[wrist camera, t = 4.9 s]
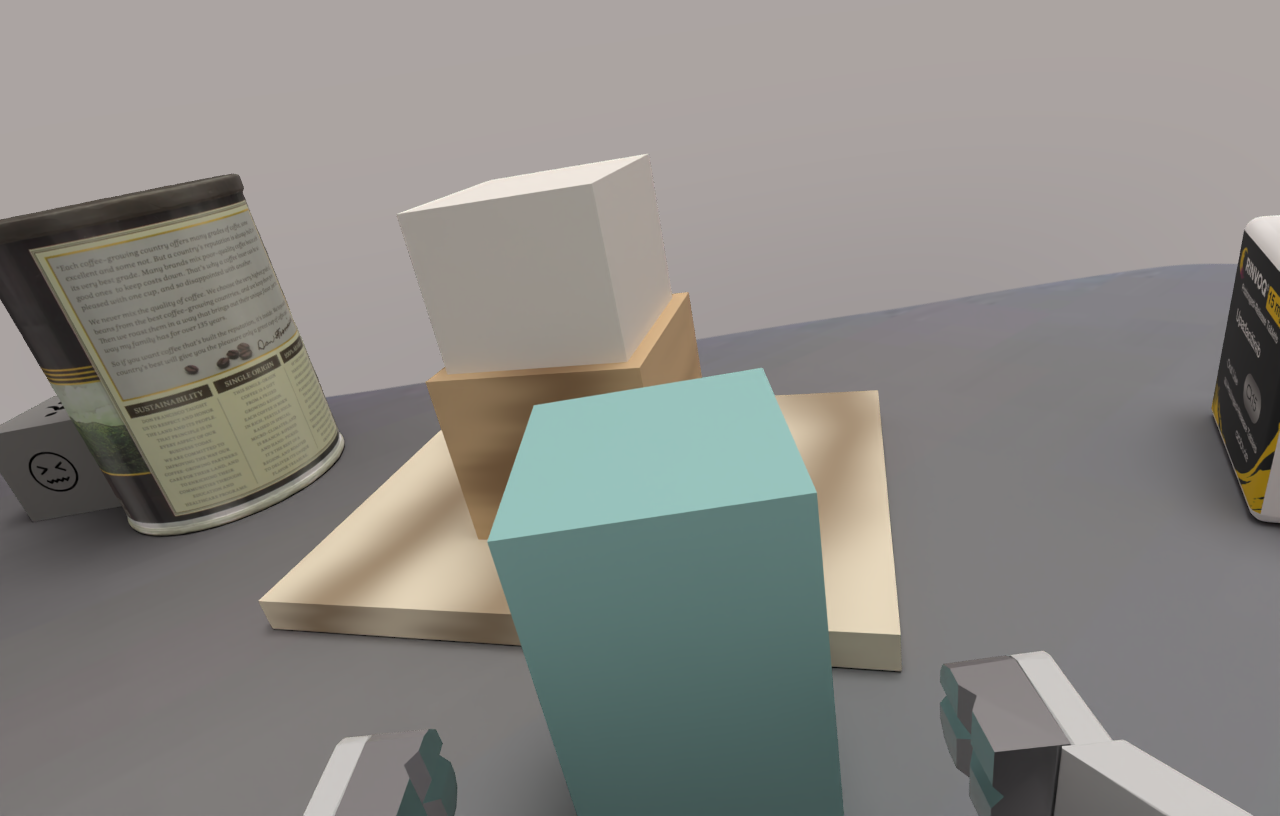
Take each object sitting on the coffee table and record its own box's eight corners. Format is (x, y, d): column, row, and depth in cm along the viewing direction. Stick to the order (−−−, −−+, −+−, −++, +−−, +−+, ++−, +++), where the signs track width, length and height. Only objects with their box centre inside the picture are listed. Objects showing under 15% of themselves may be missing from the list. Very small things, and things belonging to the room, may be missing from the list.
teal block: (613, 925, 13) (486, 542, 9) (620, 727, 17) (533, 405, 14) (850, 901, 13) (816, 492, 9) (800, 704, 17) (762, 368, 13)
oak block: (478, 539, 24) (425, 381, 21) (552, 441, 30) (517, 309, 27) (672, 542, 22) (639, 367, 19) (710, 435, 28) (688, 292, 25)
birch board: (272, 628, 23) (258, 601, 23) (467, 432, 35) (460, 411, 35) (901, 671, 17) (900, 634, 17) (878, 416, 29) (877, 390, 29)
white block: (447, 374, 22) (396, 214, 20) (524, 312, 27) (489, 180, 25) (627, 362, 20) (591, 183, 18) (672, 297, 25) (649, 153, 23)
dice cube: (183, 458, 39) (141, 379, 37) (127, 506, 35) (76, 418, 33) (99, 474, 40) (53, 396, 38) (33, 523, 35) (-23, 437, 33)
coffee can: (76, 553, 31) (-121, 243, 25) (207, 446, 40) (85, 202, 35) (292, 519, 30) (140, 191, 24) (375, 418, 40) (278, 163, 34)
